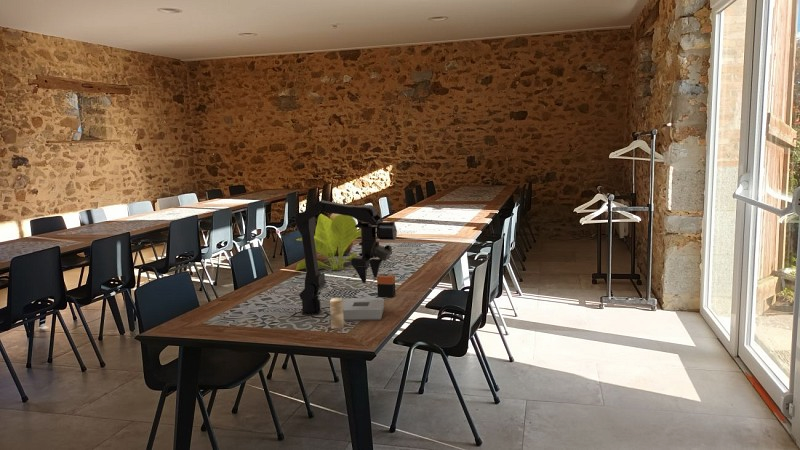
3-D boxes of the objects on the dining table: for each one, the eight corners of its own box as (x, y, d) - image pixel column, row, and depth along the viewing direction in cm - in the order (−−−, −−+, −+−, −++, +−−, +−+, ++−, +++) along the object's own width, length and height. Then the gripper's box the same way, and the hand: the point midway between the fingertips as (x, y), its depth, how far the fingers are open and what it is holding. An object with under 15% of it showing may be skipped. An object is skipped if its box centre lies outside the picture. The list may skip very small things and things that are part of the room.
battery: (380, 294, 265) (379, 271, 264) (395, 295, 263) (395, 272, 262) (377, 297, 261) (376, 273, 260) (392, 297, 259) (391, 274, 257)
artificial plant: (381, 274, 331) (371, 225, 344) (370, 242, 292) (359, 188, 305) (305, 292, 331) (297, 242, 344) (283, 263, 292) (275, 207, 305)
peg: (331, 328, 220) (329, 301, 219) (333, 325, 224) (331, 298, 223) (342, 328, 220) (341, 301, 219) (344, 325, 224) (342, 298, 223)
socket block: (337, 320, 229) (337, 310, 229) (343, 308, 245) (342, 299, 244) (380, 320, 228) (380, 309, 228) (383, 307, 244) (383, 298, 244)
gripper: (376, 244, 219) (377, 287, 222) (398, 236, 236) (399, 276, 238) (349, 243, 224) (350, 285, 226) (372, 234, 241) (373, 274, 243)
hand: (369, 280), depth 233 cm, fingers open, 9 cm apart
